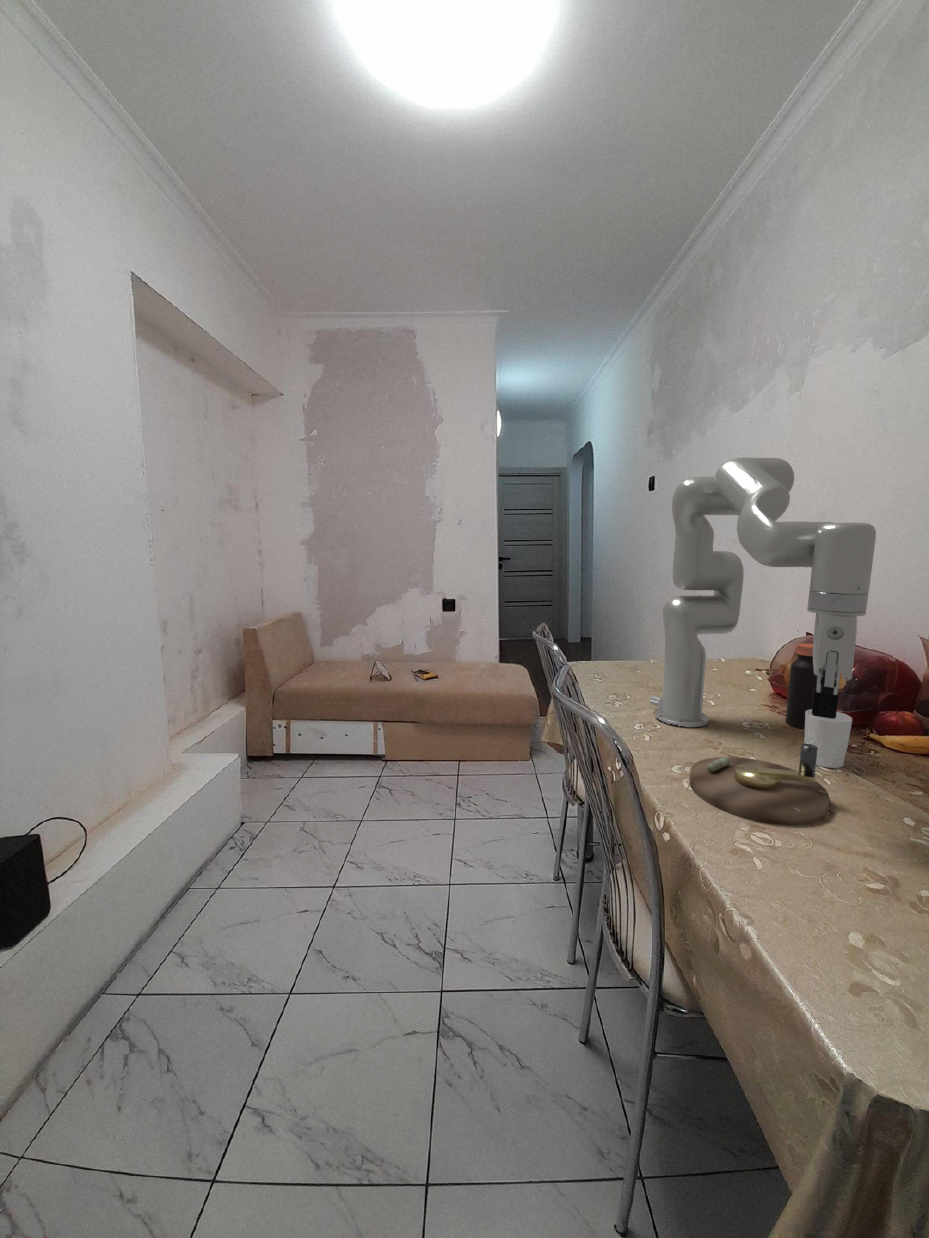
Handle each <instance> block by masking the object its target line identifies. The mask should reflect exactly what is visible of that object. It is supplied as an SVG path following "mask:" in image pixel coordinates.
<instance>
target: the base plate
mask: <svg viewBox="0 0 929 1238" xmlns="http://www.w3.org/2000/svg"><path fill="white" fill-rule="evenodd" d="M739 764H756V765H761V766H765V767H768V768H770V769H779V770H790V771H796V770H795V769H793V768H790V767H787V766H783V765H781V764H777V763H773V762H769V761H764V760H760V759H756V758H755V759H754V758H746V757H738V756H737V757H736V756H717V757H708V758H705V759H701V760H698V761H697V762H695V763H694V764H693V765H692V766H691V767H690V771H689V786H690V788H691V789H692V791H693V793H695V794H696V795H697V797H699V798H700V799H701V800H702V801H704V802H707V803H708V804H710V805H711V806H713V807H715V808H718V809H719V810H721V811H724V812H727V813H730V814H731V815H734V816H738V817H741V818H745V819H749V820H752V821H757V822H762V823H768V824H778V825H805V824H810V823H811V824H812V823H814V822H818V821H820V820H822V819H823V818H825V816H827V814H828V813H829V805H830V795H829V792H828V791H827V790H826V788H825V787H824V786H823V785H822V784H820V783H819V782H818V781H816V780H815V783H813V782H803V781H792V780H781V779H779V784H778V787H776V788H774V789H758V788H753V787H750V786H747V785H744V784H742V783H740V782H738V781H737V780H736V779H735V777H734V775H735V767H736V766H737V765H739Z"/></svg>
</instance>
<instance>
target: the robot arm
mask: <svg viewBox="0 0 929 1238" xmlns="http://www.w3.org/2000/svg"><path fill="white" fill-rule="evenodd" d="M794 483H795V472H794V470H793V467H792V466H791V464H790V463H789V462H788V461H786V460H784V459H782V458H780V457H778V458H777V457H737V458H732V459H729V460H727V461H725V462H723V464H721V465H720V466H719V467H718V468H717V470H716V472H715V473H714V476H698V477H697V476H695V477H691V478H686V479H684V480H682V481H681V482H680V483H678V485H677V486H676V488H675V490H674V492H673V495H672V499H671V500H672V501H671V511H672V513H671V514H672V518H673V524H674V529H675V530H674V531H675V538H674V551H673V560H672V561H673V562H672V580H673V581H672V582H673V584H674V586H675V588H678V589H679V590H684V591H713V595H701V594H700V595H699V594H698V595H696V594H695V595H679V596H674V597H672V598H669V599H668V600H667V601H666V602H665V604H664V605H663V609H662V621H663V627H664V629H663V630H664V663H663V665H664V666H663V682H662V697H661V696H658V695H655V694H654V695H651V697H650V700H649V704H650V705H652V706H657V710H655V712H654V717H655V716H656V717H655V719H657V718H658V719H659V720H661V721H663V722H662V723H664V722H665V724H666V723H667V725H670V724H673V725H672V726H674V725H678V726H677V727H680V726H683V728H699V727H704V726H706V725H708V724H709V716H708V715H707V714H705V713H704V712H703V709H704V708H703V704H704V694H705V693H704V692H705V691H704V690H705V675H706V661H707V659H706V658H707V653H706V648H705V647H704V645H703V644H702V642H701V641H700V639H699V637H698V635H705V634H706V635H710V634H712V635H715V634H716V635H717V634H718V635H719V634H720V635H722V634H728V633H731V632H733V631H734V630H735V628H737V625H738V622H739V620H740V619H739V618H740V614H741V606H742V605H741V602H742V594H743V588H744V587H743V586H744V574H745V573H744V572H745V571H744V565H743V562H742V559H741V558H740V557H739V555H737V554H736V553H734V552H732V551H726V550H720V551H719V550H714V540H715V539H714V538H715V532H714V528H713V527H712V524H711V522H710V521H709V520H708V518H707V517H706V516H737V517H738V518H737V521H736V524H737V525H736V532H737V538H738V541H739V544H740V545H741V546H742V548H743V549H744V550H745V551H746V552H747V554H749V556H750V557H751V558H752V559H754V560H755V561H756V562H757V563H759V564H760V565H763V566H764V567H769V568H811V572H810V582H809V583H810V584H809V592H808V602H807V608H806V609H807V612H810V613H814V614H815V620H814V627H813V628H814V629H813V639H812V641H813V643H812V644H813V668H814V674H815V675H816V676H817V684H816V689H817V690H816V689H814V696H813V705H812V715H813V716H818V717H824V718H831V719H835V718H836V713H837V712H838V711H837V710H838V704H839V697H840V694H839V685H840V684H839V683H840V678H841V677H840V676H842V678H844V679H845V680H846V681H851V680H852V679H853V669H854V661H855V660H854V659H855V650H856V644H857V643H856V640H857V633H858V632H857V631H858V629H857V628H858V617H863V616H866V615H867V610H868V609H867V608H868V600H869V591H870V587H871V586H870V585H871V584H870V583H871V577H872V572H873V571H872V570H873V564H874V563H873V562H874V561H873V560H874V555H875V546H876V541H877V540H876V539H877V530H876V527H875V526H874V525H872V524H870V523H865V522H833V521H777V520H779V518H781V517H782V516H783V515H784V514H785V512H786V511H787V509H788V507H789V504H790V500H791V495H790V492H791V491H792V488H793V486H794ZM658 719H657V720H658ZM659 720H658V721H659ZM661 721H660V722H661Z"/></svg>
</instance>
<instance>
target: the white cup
mask: <svg viewBox="0 0 929 1238" xmlns="http://www.w3.org/2000/svg"><path fill="white" fill-rule="evenodd" d="M852 723H853V718H852V717H851V716H850V715H848V714H846V713H843V712H840V711H837V713H836V718H835V719H831V718H824V717H818V716H813V715H812V709H810V710H807V711H806V712H805V729H804V740H803V741H804V742H803V744H812V745H815V746H817V747H818V749H817V759H816V766H817V767H818V766H819V767H823V768H829V769H839V768H842V767H844V762H845V757H846V754H847V749H848V746H849V741H850V734H851V731H852V730H851V729H852Z"/></svg>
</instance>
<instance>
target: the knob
mask: <svg viewBox="0 0 929 1238" xmlns="http://www.w3.org/2000/svg"><path fill="white" fill-rule="evenodd" d="M817 749H818V747H817V746H815V745H812V744H804V743H802V744H801V746H800V754H799V755H800V756H799V763H798V764H799V766H798V770H795V771H790V770H779V769H770V768H768V767H765V766H761V765H756V764H739V765H737V766H736V767H735V775H734V777H735V779H736V780H737V781H738V782H740V783H742V784H744V785H747V786H750V787H753V788H758V789H774V788H776V787H778V784H779V779H781V780H792V781H803V782H813V783H815V781H816V768H817V765H816V759H817Z"/></svg>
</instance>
